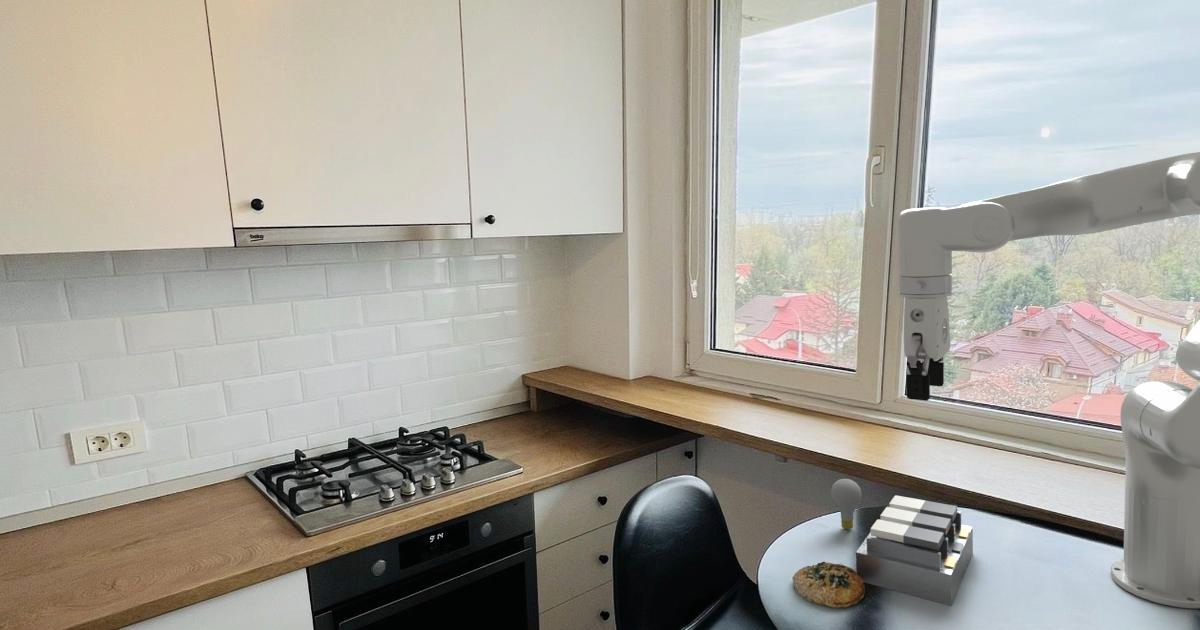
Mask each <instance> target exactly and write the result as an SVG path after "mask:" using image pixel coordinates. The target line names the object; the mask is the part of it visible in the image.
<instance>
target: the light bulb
mask: <svg viewBox="0 0 1200 630" xmlns="http://www.w3.org/2000/svg"><path fill="white" fill-rule="evenodd" d="M830 492H831V493H830V496H831V498H832V500H833V503H834V504H835V505H836V507H837V508H838V510H839V512H840V518H841V520H840V521H841V527H842V529H845V530H847V531H849V530H852V529H853V528H854V512H855V511H856V509H857V508H858V507H859V505H860V503H861V501H862V497H863V496H862V490H861V487H860V486H859V484H858V483H857V482H855V480H852V479H850V478H840V479H838V480H837V481H835V482H834V483H833V484H832V486H831V489H830Z"/></svg>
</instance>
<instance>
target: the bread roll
mask: <svg viewBox="0 0 1200 630" xmlns="http://www.w3.org/2000/svg"><path fill="white" fill-rule="evenodd" d="M791 580H792V582H793V590H794V591H795V592H796V593H797V594H798V595H799V596H801V597H802V599H804V600H806V601H807V602H809V603H811V604H812V603H813V604H815V605H820V606H827V607H830V608H831V609H846V608H849V607H852V606H855V605H857V604H858V603H859V602H861V600H862V599H863V598H864V597H865V593H866V587H865V583H864V582H863V580H862V579H861V577H860V576H859V575H858V574H857V571H855V570H854V569H853V568H851V567H850V566H846V565H844V564H842V563H832V562H826V561H822V562H818V563H817V564H812V565H811V566H810V565H807V566H805V567H802V568H800V569H798V570H797V571H796V572H795V573H794V574H793V576H792V579H791Z"/></svg>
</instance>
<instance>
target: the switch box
mask: <svg viewBox="0 0 1200 630" xmlns="http://www.w3.org/2000/svg"><path fill="white" fill-rule="evenodd" d="M973 530H974V529H973V526H971V525H965V524H962V511H958V510H957V515H956V517H955V519H954V521H953V522H951V527H950V529H949V530H948V532H947V534H946V535H944V540H943V542H942V544H941V546H940V548H939V550H934V549H930V548H925V547H921V546H916V545H912V544H907V543H905V544H904V543H902V542H898V541H894V540H889V539H884V538H880V537H875V536H871V531H870V532H869V533H868V535H867V536H866V537H865V539H864V540H863V542H862V543H861V544H860V546H859V547H858V549H857V550H856V551H855V566H856V573H857V574H858V575H859V576H860V577H861V579H862V580H863V583H864V584H870V585H872V586H877V587H879V588H880V587H881V588H884V589H888V590H892V591H895V592H899V593H903V594H905V595H906V594H907V595H910V596H912V597H913V596H914V597H918V598H921V599H926V600H929V601H933V602H936V603H941V604H944V605H947V606H953V603H954V601H955V598H956V596H957V594H958V591H959V589H960V587H961V584H962V582H963V579H964V576H965V574H966V571H967V570H968V568H969V564H970V562H971V560H972V556H973V555H974V551H973V550H974V540H973V539H974V538H973V535H974V533H973Z"/></svg>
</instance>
